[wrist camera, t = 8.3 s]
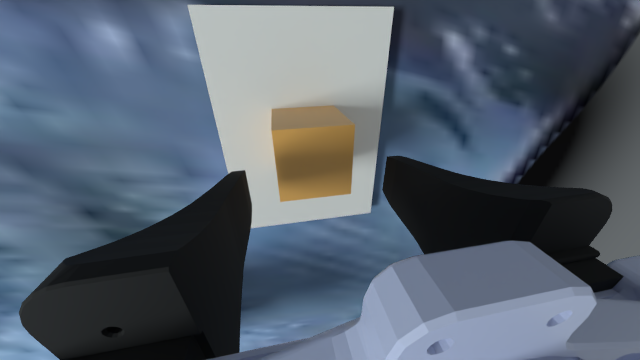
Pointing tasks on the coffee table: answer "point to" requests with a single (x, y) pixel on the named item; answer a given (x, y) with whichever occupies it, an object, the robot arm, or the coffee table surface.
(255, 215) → the plate
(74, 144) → the coffee table surface
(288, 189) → the tan cardboard-like box
